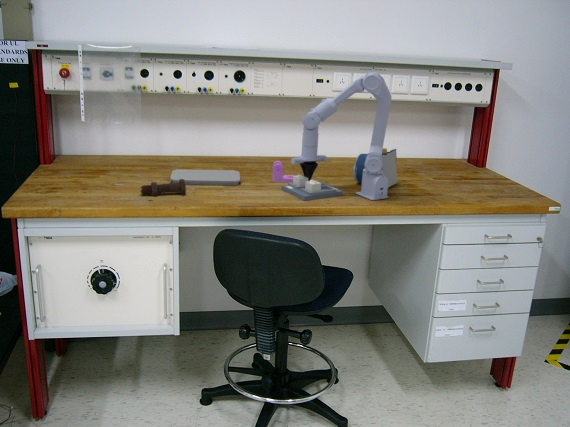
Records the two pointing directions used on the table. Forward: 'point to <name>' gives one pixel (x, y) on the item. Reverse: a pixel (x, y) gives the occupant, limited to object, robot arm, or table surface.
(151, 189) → the bolt
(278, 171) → the bracket
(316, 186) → the near tab
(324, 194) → the switch bank
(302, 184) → the far tab
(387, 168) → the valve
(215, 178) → the tablet
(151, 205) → the table surface
